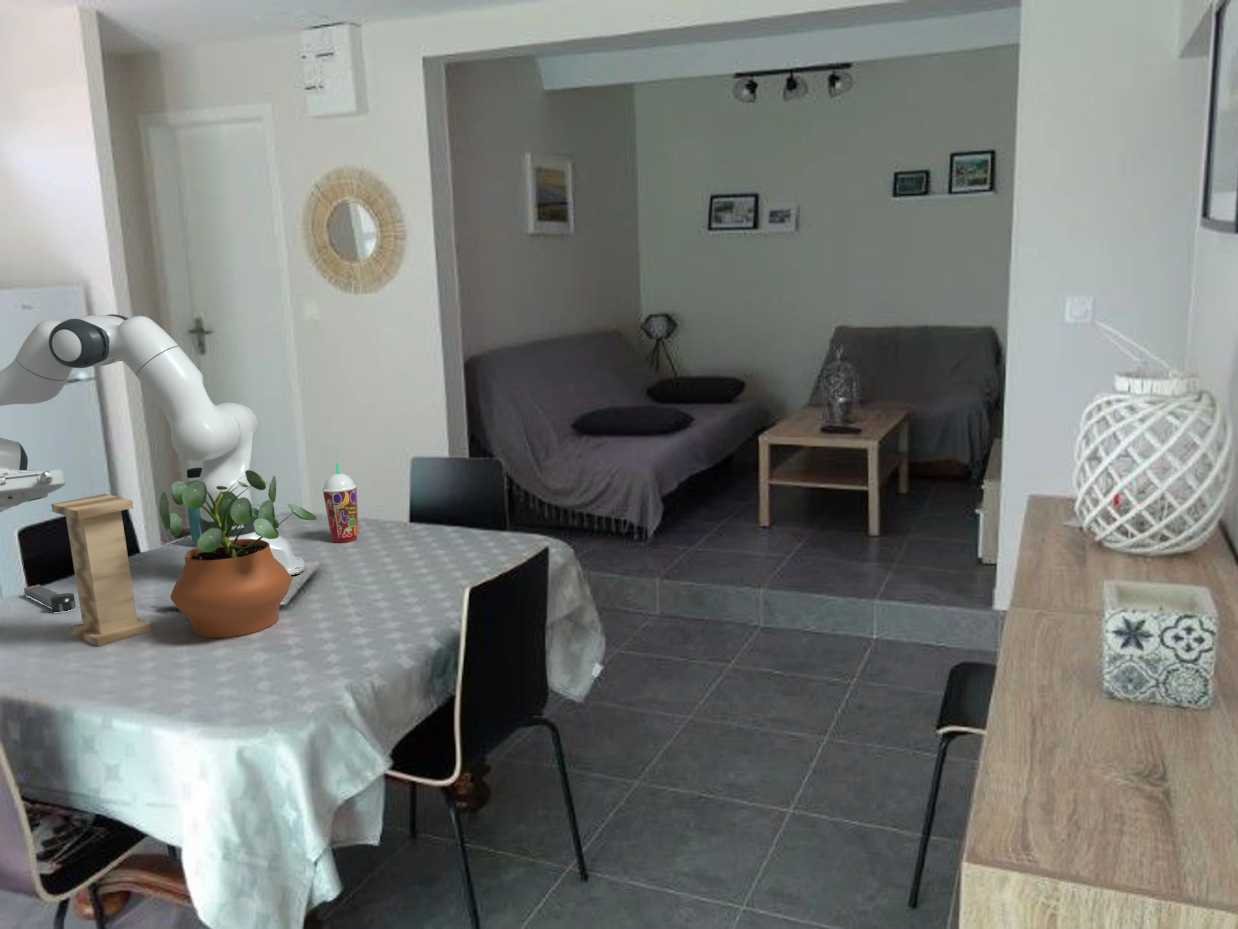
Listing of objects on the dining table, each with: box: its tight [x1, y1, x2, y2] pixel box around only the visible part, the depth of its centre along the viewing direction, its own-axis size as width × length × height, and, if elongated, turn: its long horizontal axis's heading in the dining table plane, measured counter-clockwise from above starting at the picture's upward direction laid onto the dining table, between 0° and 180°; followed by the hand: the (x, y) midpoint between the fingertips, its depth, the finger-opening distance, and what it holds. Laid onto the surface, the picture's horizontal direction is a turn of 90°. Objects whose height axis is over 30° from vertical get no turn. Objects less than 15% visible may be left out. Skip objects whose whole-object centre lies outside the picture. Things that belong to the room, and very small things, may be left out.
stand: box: [51, 493, 152, 648], centre depth 198 cm, size 12×10×26 cm
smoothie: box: [322, 462, 359, 544], centre depth 260 cm, size 8×8×20 cm
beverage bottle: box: [185, 467, 202, 543], centre depth 263 cm, size 6×7×20 cm
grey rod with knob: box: [23, 584, 77, 613], centre depth 221 cm, size 20×4×3 cm, turn 48°
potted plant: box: [158, 469, 317, 639], centre depth 199 cm, size 23×28×30 cm
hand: (25, 477), depth 220 cm, fingers open, 8 cm apart
